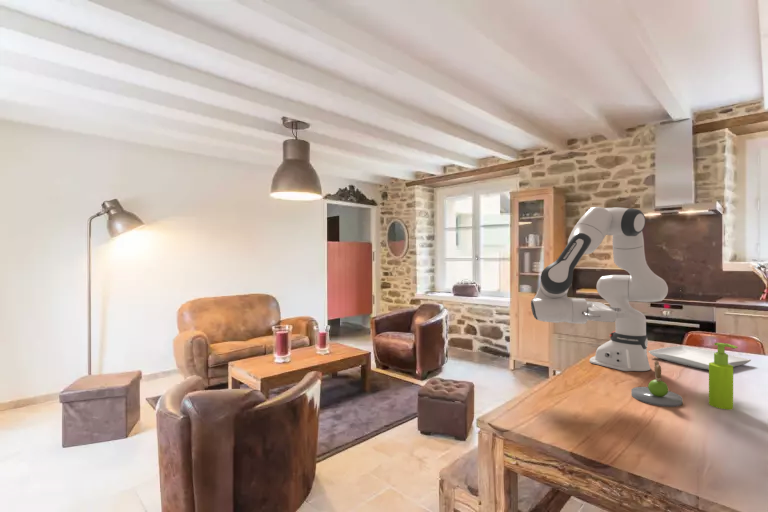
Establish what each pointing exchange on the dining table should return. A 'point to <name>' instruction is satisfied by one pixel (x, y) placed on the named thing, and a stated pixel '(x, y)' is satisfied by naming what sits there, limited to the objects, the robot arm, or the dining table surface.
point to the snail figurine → (658, 382)
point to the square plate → (693, 356)
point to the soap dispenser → (721, 379)
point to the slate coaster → (647, 397)
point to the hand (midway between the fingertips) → (624, 312)
